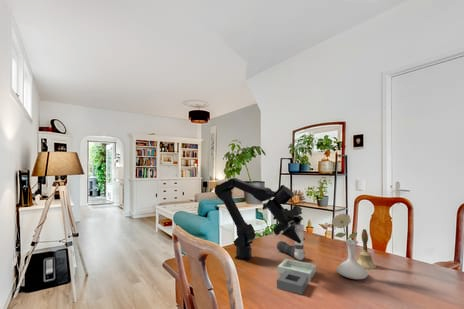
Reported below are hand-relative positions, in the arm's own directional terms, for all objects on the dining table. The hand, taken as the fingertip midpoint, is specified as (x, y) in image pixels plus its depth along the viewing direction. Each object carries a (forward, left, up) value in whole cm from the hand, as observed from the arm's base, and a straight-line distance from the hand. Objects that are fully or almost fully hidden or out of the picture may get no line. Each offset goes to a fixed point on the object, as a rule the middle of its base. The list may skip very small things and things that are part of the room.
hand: (302, 241), depth 102 cm
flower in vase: (+17, +9, -13) cm, 23 cm away
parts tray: (-2, 0, -13) cm, 13 cm away
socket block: (0, -12, -13) cm, 18 cm away
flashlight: (-11, +19, -14) cm, 26 cm away
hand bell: (+22, +24, -14) cm, 35 cm away
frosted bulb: (-1, 0, -7) cm, 7 cm away
